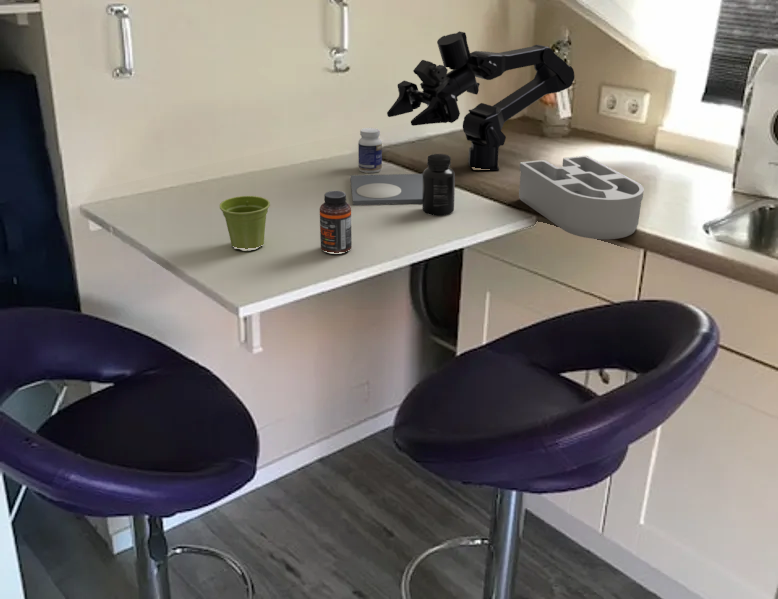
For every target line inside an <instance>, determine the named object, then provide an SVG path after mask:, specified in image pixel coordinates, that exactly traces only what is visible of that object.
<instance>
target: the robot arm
mask: <svg viewBox="0 0 778 599" xmlns="http://www.w3.org/2000/svg"><path fill="white" fill-rule="evenodd" d="M437 47H438V51H439V54H440V57H441V58H440V59H441V61H442V64H439V65H438V64H435V63H433V62H431V61H429V60H425V59H421V60H420V61H419V63H418V64H417V65H416V67H414V69H413V70H412V72H413V73H414V74H415V75H417V77H418V78H419V80H420V81H421V82H420V84H419V86H420V88H421V89H422V91H420V90H419V88H418V85H417V84H416V83H413V82H410V81H407V80H403V81H401V82H399V83H397V89H398V90H397V91H398V97H397V99H396V100H395V101H394V103H393V104H392V105H391V107H390V108H389V110H388V111H386V115H387V118H388V117H389V118H392V117H396V116H399V115H405V114H409V113H412V112H414V110H416V109H418V108H420V107H421V105H422V104H425V105H426V106H427V107H426V108H424V109H423V110H422V111H421V112H419V113H418V114H417V115H416V116H414V117H413V118H412V119H411V120H410V124H411V126H421V125H422V126H423V125H431V124H432V125H433V124H443V123H444V124H447V123H450V124H453V123H454V122H456V121H458V120H459V117H460V115H461V112H460V109H459V104H458V101H459V99H458V97H459V96H461V95H462V94H464V93H465V92H467V93H469V94H473V95H478V94H479V91H480V90H479V88H480V87H479V86H481V85H480V82H477V79H476V78H479V79H482V80H486V81H491V80H495V79H496V78H498V77H501V76H502V75H503V74H504V73H505V72H507V71H512V70H516V69H521V68H526V67H530V66H533V68H534V70H535V75H534V77H533V79H532V80H530V81H529V82H527V83H525V84H524V85H522V86H521V87H520V88H519V87H518V88H517V90H515V91H513V92H512V93H510V94H509V95H507V96H506V97H504V98H503V99H501V100H500V101H498V102H497V103H495V104H493V105H490V104H487V103H484V102H481V103H479V104H477V105H476V106H475V107H474V108H472V109H468V113H467V114H465V116H464V118H463V122H462V131H463V132H464V135H465V138H466V140H467V141H468V142H471V146H470V147H469V148H468V160H467V161H468V162H467V163H468V166H469V167H470V168H471V167H475V168H481V169H490V170H497V171H500V167H499V150H500V149H499V148H500V147H501V146H504V145H505V142H506V139H507V135H505V134H504V133H503V131H502V129H503V127H504V124H505V123H506V122H507V121H508V120H511V119H512V118H513V117H514V116H517V114H519V113H520V112H522V111H523V110H525V109H526V108H529V107H530V106H531V105H532V104H534V103H535V102H537V101H539V99H542V98H543V97H544V96H547V95H551V94H556V93H560V92H562V91H563V92H564V90H567V89H569V88H571V86H572V85H573V82H574V81H575V76H576V75H575V71H574V68H573V67H572V65H569V64H568V63H567V62H566V60H565V61H564V59H563V58H561V57H560V56H559V55H558V54H556V52H555V51H553V49H552V47H549V46H545V45H541V44H534V45H532V46H529V47H523V48H517V49H513V50H512V49H511V50H506V51H501V52H493V51H485V50H484V51H482V50H481V51H479V50H474V51H470V48H469V45H468V39H467V34H466V32H464V31H457V32H455V33H450V34H447V35H442V36H441V37H439V38H438V39H437ZM448 68H449V69H450V71H449V70H448ZM448 71H449V72H448Z"/></svg>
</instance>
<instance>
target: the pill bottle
mask: <svg viewBox="0 0 778 599" xmlns="http://www.w3.org/2000/svg"><path fill="white" fill-rule="evenodd" d="M359 132H360V133H359V135H360V136H361V137H360V138H359V139H358V145H357V146H358V148H357V149H358V152H357V153H358V170H359V171H360V172H362V173H367V174H374V173H379V172H381V171H382V168H383V155H382V154H383V143H382V142H383V141H382V139H381V138H380V136H381V134H380V133H381V131H380V129H379V128H377V127H363V128H361V129H360V131H359Z"/></svg>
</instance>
